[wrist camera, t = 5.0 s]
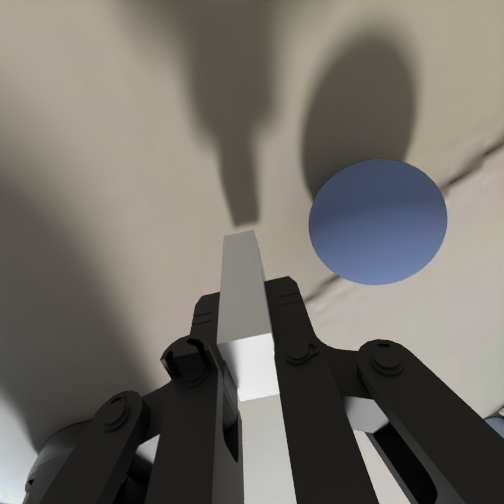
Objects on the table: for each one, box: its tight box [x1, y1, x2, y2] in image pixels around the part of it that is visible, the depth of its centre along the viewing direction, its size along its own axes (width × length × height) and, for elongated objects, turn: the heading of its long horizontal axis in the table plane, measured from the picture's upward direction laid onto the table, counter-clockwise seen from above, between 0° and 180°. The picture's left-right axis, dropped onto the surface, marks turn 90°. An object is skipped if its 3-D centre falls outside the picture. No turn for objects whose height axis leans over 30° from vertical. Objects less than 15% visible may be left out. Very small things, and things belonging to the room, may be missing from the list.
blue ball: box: [309, 159, 447, 285], centre depth 12 cm, size 6×6×6 cm
